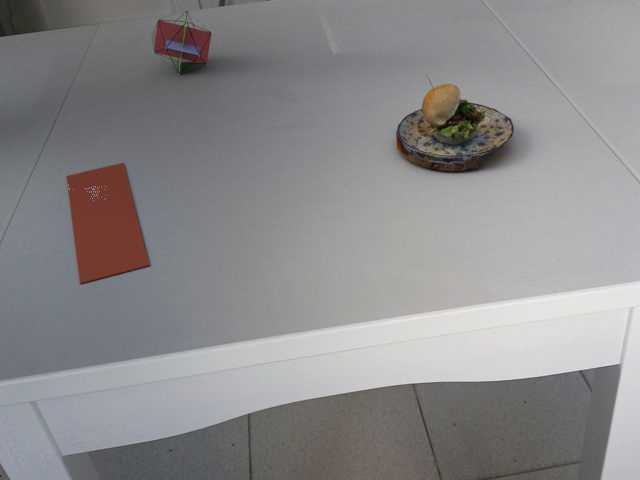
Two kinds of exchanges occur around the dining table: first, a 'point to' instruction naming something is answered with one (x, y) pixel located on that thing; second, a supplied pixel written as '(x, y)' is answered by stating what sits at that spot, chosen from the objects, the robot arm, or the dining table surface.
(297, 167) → the dining table surface
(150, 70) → the dining table surface
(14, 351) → the dining table surface
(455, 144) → the burger
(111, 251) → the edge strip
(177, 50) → the geometric puzzle
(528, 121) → the dining table surface
